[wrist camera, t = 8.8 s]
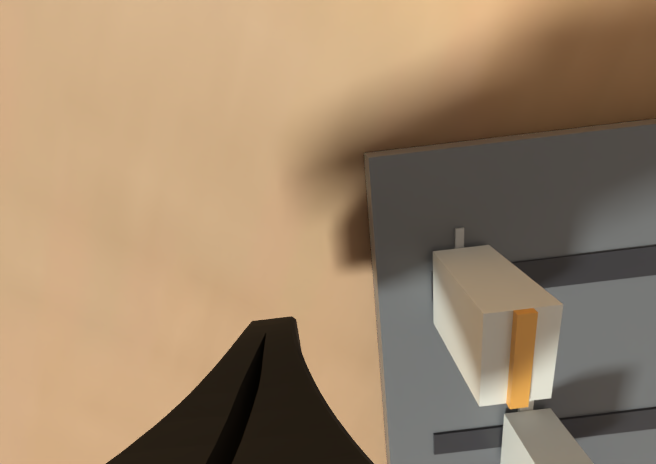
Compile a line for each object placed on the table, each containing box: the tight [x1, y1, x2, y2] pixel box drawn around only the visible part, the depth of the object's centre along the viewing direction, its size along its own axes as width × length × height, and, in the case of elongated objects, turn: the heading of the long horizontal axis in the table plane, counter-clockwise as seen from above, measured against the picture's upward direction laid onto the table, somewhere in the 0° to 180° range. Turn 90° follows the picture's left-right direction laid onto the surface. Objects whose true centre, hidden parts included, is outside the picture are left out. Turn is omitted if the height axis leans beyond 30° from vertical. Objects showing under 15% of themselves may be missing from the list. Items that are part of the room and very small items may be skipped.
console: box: [364, 118, 656, 464], centre depth 15 cm, size 18×18×1 cm
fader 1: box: [433, 245, 563, 409], centre depth 11 cm, size 3×2×4 cm, turn 6°
